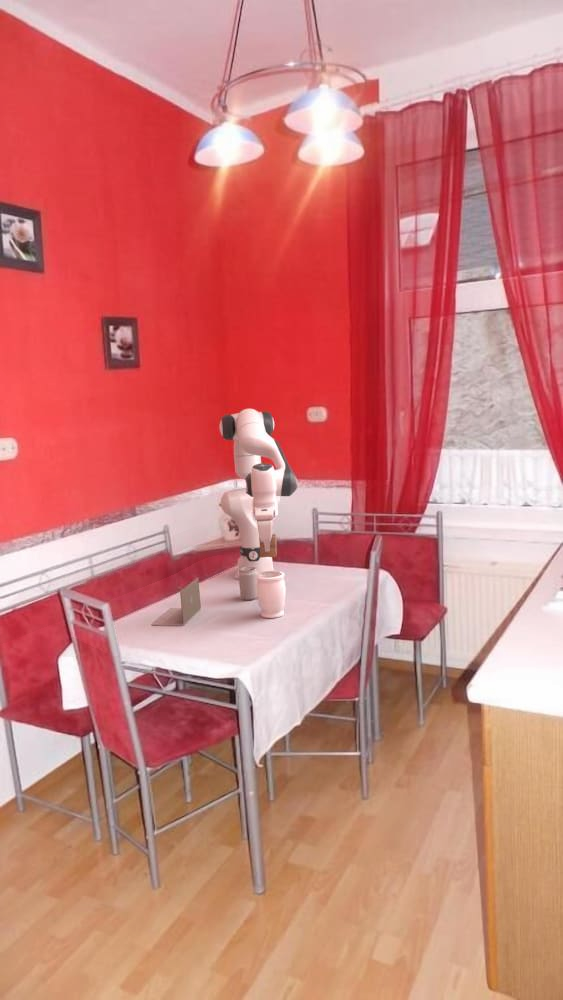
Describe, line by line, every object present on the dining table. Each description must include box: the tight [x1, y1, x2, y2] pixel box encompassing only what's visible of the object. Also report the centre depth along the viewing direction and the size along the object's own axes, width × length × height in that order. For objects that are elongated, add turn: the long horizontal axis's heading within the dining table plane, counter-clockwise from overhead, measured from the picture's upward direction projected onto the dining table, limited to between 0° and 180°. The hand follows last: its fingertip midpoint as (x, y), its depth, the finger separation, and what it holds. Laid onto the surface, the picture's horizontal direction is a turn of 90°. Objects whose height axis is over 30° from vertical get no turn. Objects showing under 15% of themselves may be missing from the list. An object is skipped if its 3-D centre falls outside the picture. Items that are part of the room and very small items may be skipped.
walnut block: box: [259, 533, 278, 558], centre depth 253 cm, size 6×6×7 cm
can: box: [238, 567, 258, 601], centre depth 277 cm, size 8×8×12 cm
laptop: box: [151, 577, 202, 627], centre depth 259 cm, size 18×12×13 cm
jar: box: [256, 570, 287, 619], centre depth 256 cm, size 11×10×15 cm
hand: (268, 548), depth 253 cm, fingers closed on walnut block, 5 cm apart
